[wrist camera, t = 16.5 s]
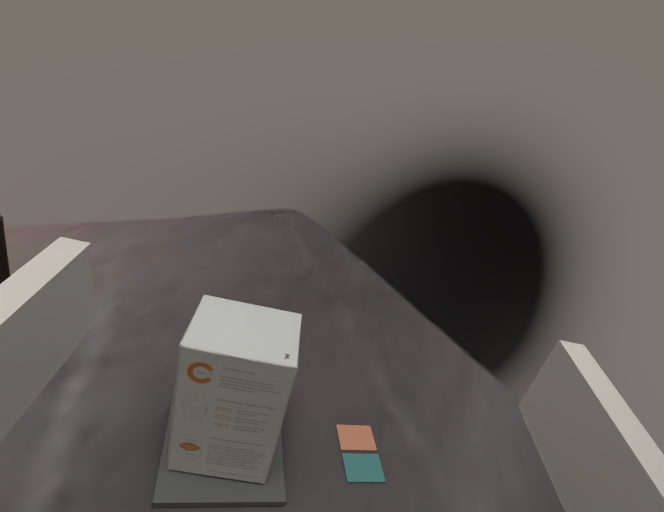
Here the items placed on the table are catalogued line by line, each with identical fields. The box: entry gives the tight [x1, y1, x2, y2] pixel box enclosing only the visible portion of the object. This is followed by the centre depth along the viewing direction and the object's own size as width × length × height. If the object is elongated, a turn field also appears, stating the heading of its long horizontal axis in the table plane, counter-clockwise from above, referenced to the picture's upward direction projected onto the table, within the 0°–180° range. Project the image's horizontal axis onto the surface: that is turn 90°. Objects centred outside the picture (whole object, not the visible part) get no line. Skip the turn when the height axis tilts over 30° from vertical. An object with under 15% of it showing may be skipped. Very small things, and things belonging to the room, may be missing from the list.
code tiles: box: [336, 425, 386, 483], centre depth 41 cm, size 4×6×1 cm, turn 10°
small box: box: [167, 295, 302, 484], centre depth 35 cm, size 8×6×13 cm
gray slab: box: [152, 397, 286, 508], centre depth 38 cm, size 10×10×1 cm
